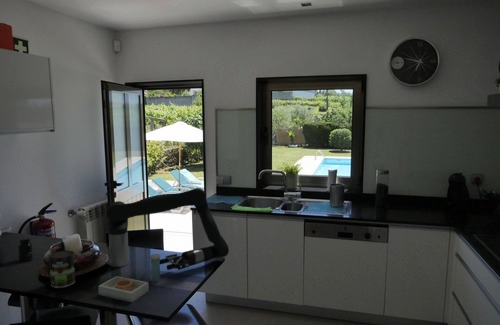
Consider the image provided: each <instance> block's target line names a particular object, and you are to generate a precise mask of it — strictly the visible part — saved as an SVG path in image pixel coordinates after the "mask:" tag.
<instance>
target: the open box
mask: <svg viewBox="0 0 500 325" xmlns="http://www.w3.org/2000/svg"><path fill="white" fill-rule="evenodd" d="M149 287H150V286H149V282H148V281H144V280H143V281H142V280H137V279H133V278H128V277H123V276H120V275H119V276H118V275H116V276H114V277H113V278H111V279H109V280H107V281H105V282H103V283H101V284H99V285H98V295H99V296H103V297H106V298H112V299H115V300H121V301H125V302H129V303H134V302H135V301H137V300H138V299H140V298H141V297H142V296H144V295H146V292H147V293H148V292H149V291H150V288H149Z"/></svg>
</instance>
